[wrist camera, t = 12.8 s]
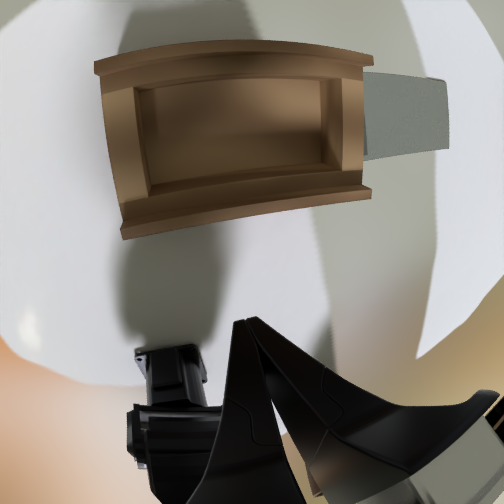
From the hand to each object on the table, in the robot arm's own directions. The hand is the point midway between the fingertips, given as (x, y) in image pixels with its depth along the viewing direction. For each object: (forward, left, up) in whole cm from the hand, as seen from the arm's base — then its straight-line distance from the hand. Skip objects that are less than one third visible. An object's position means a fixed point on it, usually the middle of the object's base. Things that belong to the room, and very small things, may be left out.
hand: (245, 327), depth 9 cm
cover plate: (+7, -19, -13) cm, 24 cm away
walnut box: (+6, -3, -12) cm, 14 cm away
